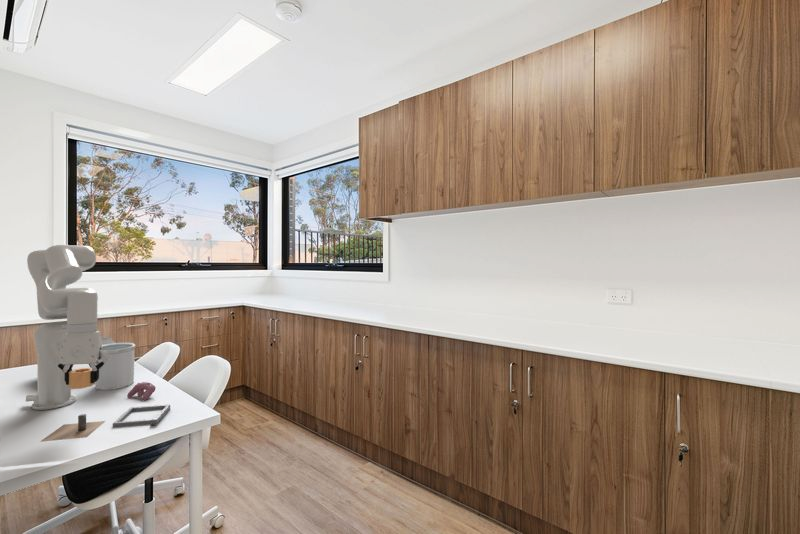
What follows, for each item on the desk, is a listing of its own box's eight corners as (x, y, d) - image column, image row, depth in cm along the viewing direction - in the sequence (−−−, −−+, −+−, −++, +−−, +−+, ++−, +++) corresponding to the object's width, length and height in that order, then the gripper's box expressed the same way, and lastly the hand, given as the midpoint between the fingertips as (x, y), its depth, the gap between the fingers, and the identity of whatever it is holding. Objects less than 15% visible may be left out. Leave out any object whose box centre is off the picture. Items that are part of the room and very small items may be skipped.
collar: (62, 391, 116) (62, 375, 116) (76, 383, 123) (76, 368, 123) (85, 389, 118) (85, 374, 117) (97, 381, 125) (97, 367, 125)
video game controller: (152, 401, 152) (159, 384, 154) (142, 400, 148) (150, 382, 151) (134, 398, 155) (142, 381, 158) (125, 397, 151) (132, 379, 154)
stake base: (40, 444, 113) (40, 425, 113) (63, 426, 125) (63, 410, 125) (86, 439, 116) (86, 421, 116) (105, 423, 128) (105, 407, 128)
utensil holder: (127, 389, 161) (127, 349, 161) (86, 392, 157) (86, 351, 157) (140, 378, 175) (140, 341, 175) (103, 381, 171) (103, 343, 171)
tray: (112, 429, 123) (112, 423, 123) (130, 412, 137) (130, 407, 137) (156, 425, 127) (156, 419, 127) (170, 409, 140) (170, 404, 140)
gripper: (42, 331, 115) (42, 388, 115) (107, 329, 119) (107, 384, 120) (57, 326, 122) (57, 380, 122) (118, 325, 127) (118, 377, 127)
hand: (82, 382), depth 121 cm, fingers closed on collar, 6 cm apart
